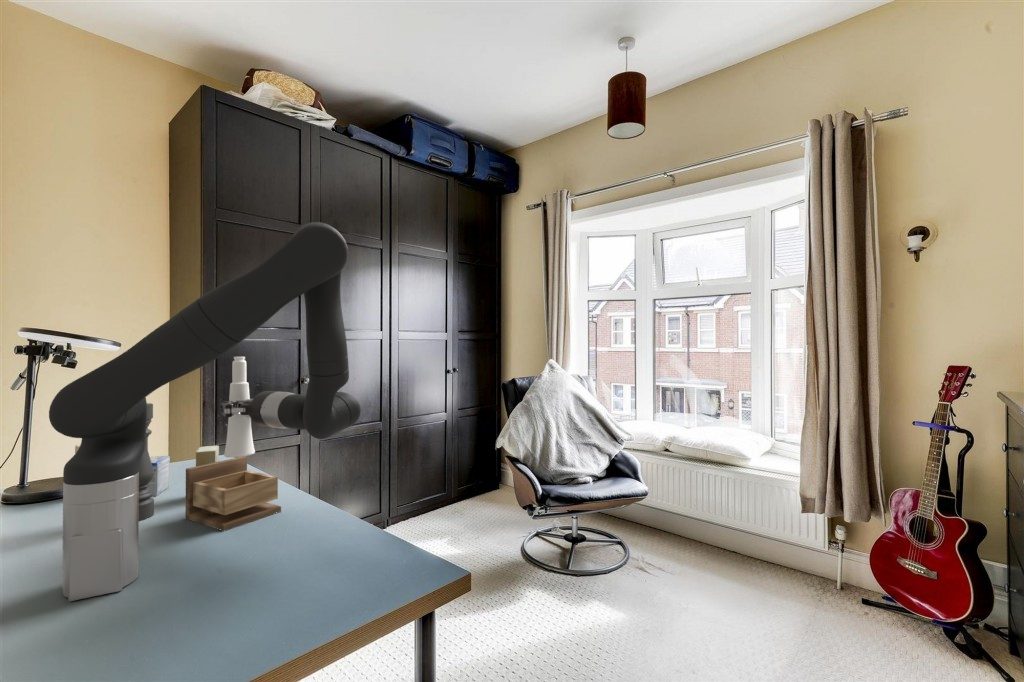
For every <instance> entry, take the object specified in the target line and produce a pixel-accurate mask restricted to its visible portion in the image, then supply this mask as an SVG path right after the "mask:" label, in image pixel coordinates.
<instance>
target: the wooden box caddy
mask: <svg viewBox="0 0 1024 682" xmlns="http://www.w3.org/2000/svg"><path fill="white" fill-rule="evenodd" d="M278 479H279V478H278V476H274V475H270V474H266V473H261V472H256V471H252V470H248V456H243V457H232V458H229V459H225V460H220V461H219V462H215V463H210V464H205V465H200V466H196V465H195V466H191V467H187V468H185V519H186V520H190V521H193V522H194V523H198V524H201V525H204V526H207V525H208V526H207V527H210V526H211V528H213V527H215V528H214V529H216V528H218V529H217V530H219V529H221V530H220V531H222V530H223V532H225V531H228V530H231V529H234V528H237V527H240V526H243V525H245V524H248V523H251V522H254V521H257V520H260V519H264V518H266V517H270V516H272V515H274V513H275V514H277V513H276V512H278V513H280V512H279V511H281V512H282V506H281V505H277V504H275V503H274V504H273V503H270V502H271V501H275V500H278V499H279V498H278V493H279V492H278V491H279V480H278ZM236 526H237V527H236ZM233 527H234V528H233ZM230 528H231V529H230ZM227 529H228V530H227ZM224 530H225V531H224Z"/></svg>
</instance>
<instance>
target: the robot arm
mask: <svg viewBox="0 0 1024 682" xmlns="http://www.w3.org/2000/svg"><path fill="white" fill-rule="evenodd" d="M348 259H349V247H348V244H347V241H346V239H345V238H344V236H343V235H342V234H341V233H340V232H339V231H338V230H337V229H336V228H335V227H333V226H332V225H330V224H328V223H325V222H319V221H311V222H307V223H305V224H303V225H301V226H300V227H299V228H298V229H296V231H295V232H294V233H293V235H292V236H291V238H290V239H289V240H287V242H286V243H284V245H282V246H281V247H280V248H279V249H278V250H277V251H276V252H274V253H273V254H272V255H271V256H269V257H268V258H267V259H266V260H264V261H263V262H262V263H260V264H259V265H258V266H256V267H255V268H253V269H252V270H250V271H247V272H246V273H243V274H242V275H240V276H239V275H238V276H237V277H235V278H234V279H230V280H228V281H227V282H225V283H222V284H221V285H219V286H217V287H215V288H213V289H211V290H209V291H208V292H207V293H205V294H203V295H202V296H200V297H199V298H197V299H196V300H194V301H193V302H191V303H190V304H188V305H187V306H185V307H184V308H183V309H181V310H180V311H178V313H175V315H174V316H172V317H171V318H169V319H168V320H166V321H165V322H163V323H162V324H161V325H160V326H158V327H157V328H155V329H154V330H153V331H151V332H149V334H147V335H146V336H144V337H143V338H142V339H140V340H139V341H138V342H136V343H135V344H134V345H132V346H131V347H129V348H128V349H127V350H126V351H124V352H122V353H121V354H119V355H118V356H117V357H115V358H113V359H111V360H109V361H108V362H106V363H103V364H102V365H100V366H99V367H97V368H94V369H93V370H91V371H90V372H88V373H86V374H84V375H82V376H80V377H79V378H77V379H75V380H73V381H71V382H69V383H68V384H67V385H65V386H64V387H63V388H61V389H60V390H59V391H58V392H57V393H56V395H55V396H54V397H53V399H52V401H51V403H50V405H49V409H48V419H49V422H50V424H51V427H52V428H53V429H54V430H55V431H56V432H58V433H59V434H61V435H63V436H65V437H69V438H74V439H81V440H80V441H81V442H80V444H81V445H80V447H79V449H78V451H77V452H76V454H75V453H74V455H72V457H70V459H69V460H68V461H67V462H66V463H65V464H64V467H63V473H62V476H63V479H62V480H63V481H62V482H63V483H62V484H63V485H62V487H63V488H62V595H63V596H64V597H65V598H68V599H67V600H68V601H67V602H74V601H78V600H79V601H80V600H82V599H87V598H92V597H97V596H103V595H106V594H111V593H117V592H121V591H122V590H123V588H124V587H126V586H128V585H130V584H132V583H133V582H134V581H135V580H136V579H138V577H139V561H140V560H139V558H140V557H139V547H140V546H139V545H140V544H139V537H140V536H139V528H140V525H139V524H140V523H139V522H140V521H139V463H140V460H141V458H142V455H143V453H144V449H145V441H146V424H147V403H148V401H147V398H146V397H148V396H149V395H150V394H152V393H154V391H156V390H158V389H159V388H161V387H163V386H164V385H167V384H169V383H171V382H173V381H175V380H177V379H179V378H180V377H181V378H182V377H183V376H186V375H188V374H190V373H192V372H194V371H196V370H198V369H200V368H201V367H204V366H206V365H209V364H210V363H211V362H213V361H215V360H217V359H218V358H220V357H222V356H223V355H225V354H226V353H227V352H229V351H230V350H231V349H233V348H234V347H236V346H237V345H238V344H240V343H242V342H243V341H244V340H245V339H247V338H248V337H249V336H250V335H252V333H254V332H255V331H257V330H259V328H261V327H262V326H263V325H265V323H267V322H268V321H269V320H270V319H271V318H272V317H273V316H275V315H276V314H277V313H278V312H279V311H280V310H281V309H283V307H285V306H286V305H288V304H289V303H290V302H292V301H293V300H295V299H297V298H299V297H300V296H302V295H303V297H304V304H305V305H304V307H305V341H306V342H305V343H306V344H305V345H306V356H307V358H306V360H307V369H308V376H309V379H308V383H307V386H306V387H307V388H306V393H305V394H303V393H302V394H301V393H300V394H299V393H294V392H288V391H277V390H265V391H261V392H259V393H258V394H256V395H255V396H254V397H253V398H250V399H247V400H236V402H233V401H229V400H222V401H220V403H219V410H220V411H221V415H222V416H224V417H225V418H229V417H232V416H234V414H236V416H246V417H247V418H251V421H253V422H254V423H255V424H256V425H258V426H261V427H265V428H267V427H269V428H273V429H275V428H276V429H284V430H285V429H293V430H303V431H304V430H305V431H307V433H308V434H309V435H310V436H311V437H312V438H314V439H317V440H324V439H325V440H326V439H328V438H331V437H332V436H334V435H336V434H338V433H340V432H342V431H344V430H346V429H348V428H351V427H352V426H353V425H355V423H357V421H359V418H360V417H361V412H362V411H361V410H362V408H361V405H360V403H359V401H358V399H357V398H356V397H355V396H353V395H351V394H350V393H348V392H343V391H339V390H340V389H342V388H343V387H344V386H346V384H348V382H349V379H350V369H349V368H350V367H349V355H348V354H349V353H348V344H347V335H346V330H345V324H344V317H343V312H342V299H341V277H342V271H343V269H344V268H345V266H346V264H347V262H348ZM235 405H236V408H235Z"/></svg>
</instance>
